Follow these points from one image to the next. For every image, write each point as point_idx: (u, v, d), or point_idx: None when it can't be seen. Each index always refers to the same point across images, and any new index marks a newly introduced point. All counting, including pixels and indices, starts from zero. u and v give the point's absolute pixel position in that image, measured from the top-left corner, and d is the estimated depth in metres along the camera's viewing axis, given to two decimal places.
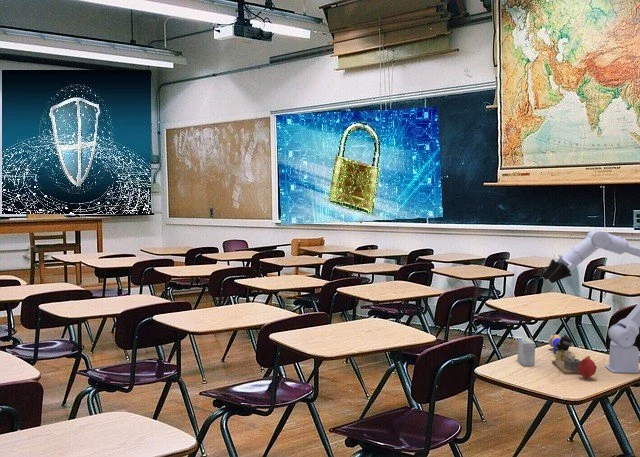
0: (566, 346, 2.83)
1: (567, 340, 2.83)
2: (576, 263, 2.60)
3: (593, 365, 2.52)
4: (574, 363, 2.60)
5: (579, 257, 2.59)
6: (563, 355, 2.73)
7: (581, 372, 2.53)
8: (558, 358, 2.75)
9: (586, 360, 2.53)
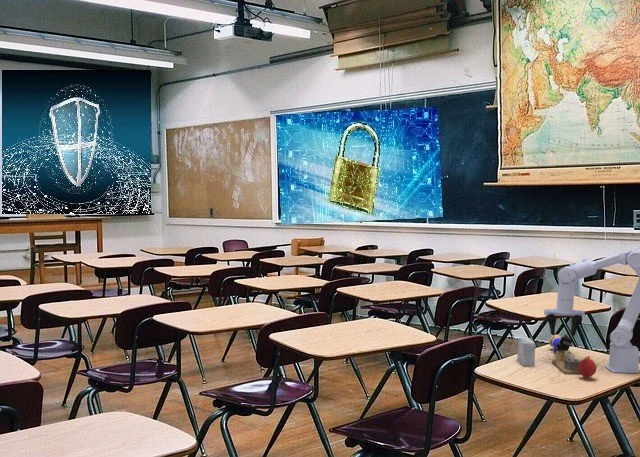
0: (566, 346, 2.83)
1: (567, 340, 2.82)
2: (560, 305, 2.73)
3: (593, 365, 2.52)
4: (574, 363, 2.60)
5: (558, 299, 2.74)
6: (563, 355, 2.73)
7: (581, 372, 2.53)
8: (558, 358, 2.75)
9: (586, 360, 2.53)
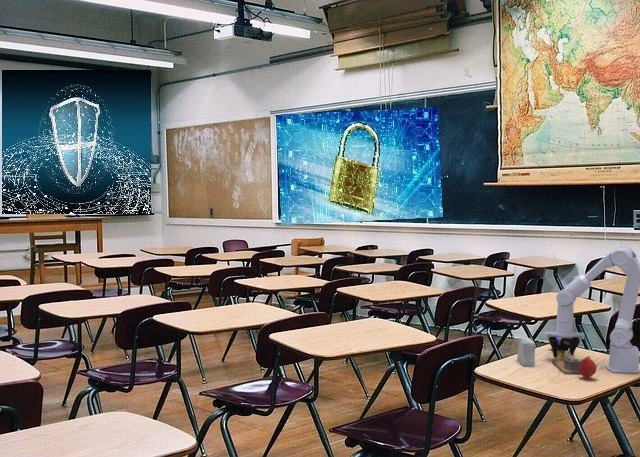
0: (566, 346, 2.83)
1: (567, 340, 2.82)
2: (559, 328, 2.74)
3: (593, 365, 2.52)
4: (574, 363, 2.60)
5: (557, 322, 2.75)
6: (563, 355, 2.73)
7: (581, 372, 2.53)
8: (558, 358, 2.75)
9: (586, 360, 2.53)
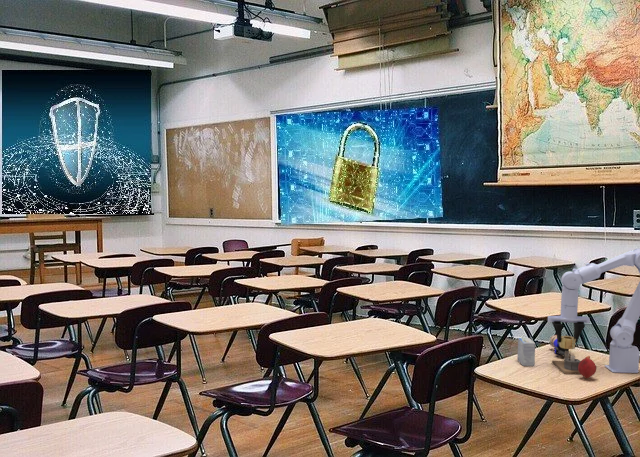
0: None
1: None
2: (563, 312, 2.66)
3: (593, 365, 2.52)
4: (574, 363, 2.60)
5: (561, 306, 2.67)
6: (568, 341, 2.66)
7: (581, 372, 2.53)
8: (562, 344, 2.67)
9: (586, 360, 2.53)
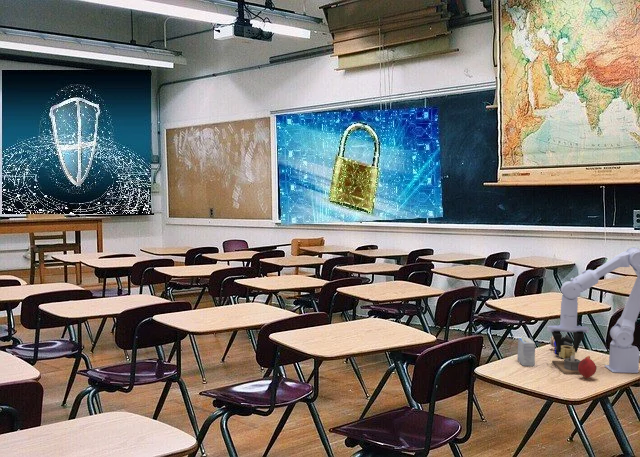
0: None
1: (568, 340, 2.82)
2: (563, 322, 2.67)
3: (593, 365, 2.52)
4: (574, 363, 2.60)
5: (561, 315, 2.68)
6: (567, 351, 2.66)
7: (581, 372, 2.53)
8: (562, 353, 2.68)
9: (586, 360, 2.53)
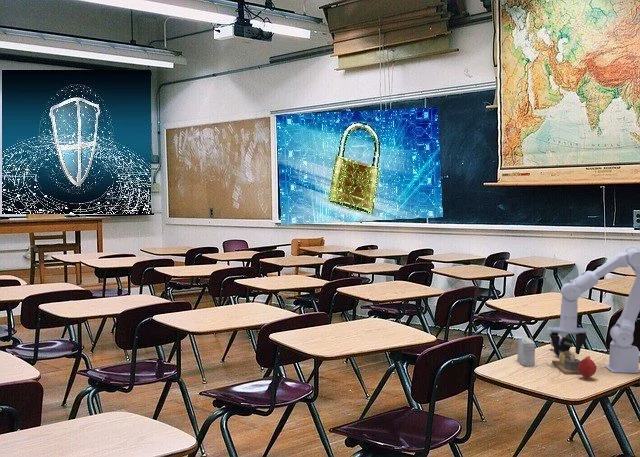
0: (567, 346, 2.82)
1: (568, 340, 2.82)
2: (562, 323, 2.67)
3: (593, 365, 2.52)
4: (574, 363, 2.60)
5: (561, 317, 2.68)
6: (567, 357, 2.67)
7: (581, 372, 2.53)
8: (562, 360, 2.68)
9: (586, 360, 2.53)
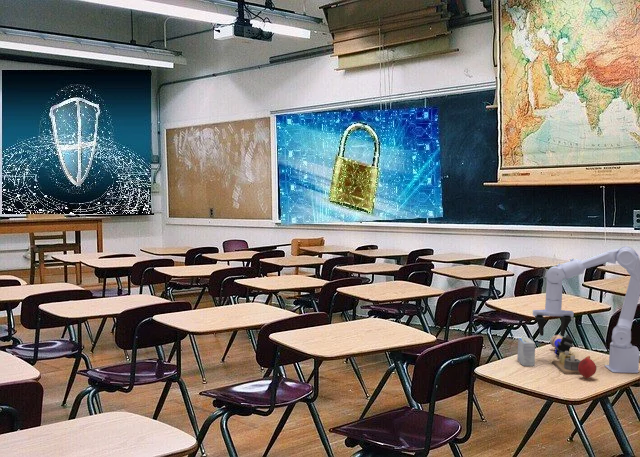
0: (567, 347, 2.82)
1: (568, 341, 2.82)
2: (548, 306, 2.72)
3: (593, 365, 2.52)
4: (574, 363, 2.60)
5: (546, 300, 2.73)
6: (567, 357, 2.67)
7: (581, 372, 2.53)
8: (562, 360, 2.68)
9: (586, 360, 2.53)
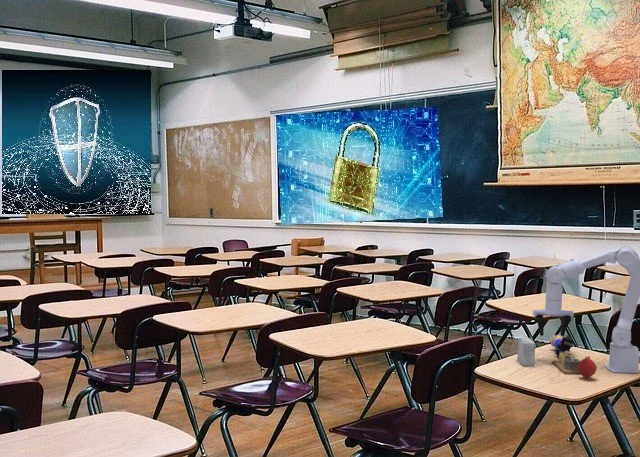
0: (567, 347, 2.82)
1: (568, 341, 2.82)
2: (548, 306, 2.72)
3: (593, 365, 2.52)
4: (574, 363, 2.60)
5: (546, 300, 2.73)
6: (567, 357, 2.67)
7: (581, 372, 2.53)
8: (562, 360, 2.68)
9: (586, 360, 2.53)
